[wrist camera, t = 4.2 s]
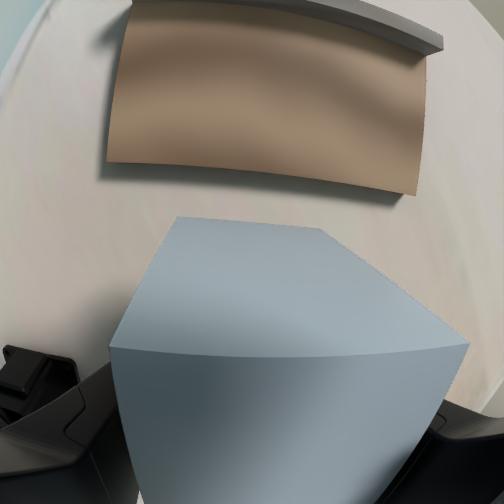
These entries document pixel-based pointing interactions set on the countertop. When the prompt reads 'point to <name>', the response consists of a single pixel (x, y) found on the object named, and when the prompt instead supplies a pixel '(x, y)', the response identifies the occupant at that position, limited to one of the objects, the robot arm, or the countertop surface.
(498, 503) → the robot arm
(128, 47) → the shelf board
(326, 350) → the carton
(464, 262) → the countertop surface
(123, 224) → the countertop surface
